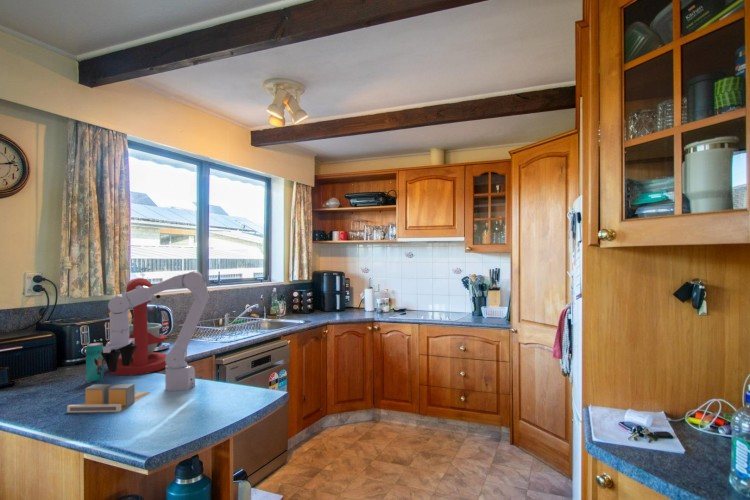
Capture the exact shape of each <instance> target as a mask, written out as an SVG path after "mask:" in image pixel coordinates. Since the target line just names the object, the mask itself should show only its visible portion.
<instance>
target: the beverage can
mask: <svg viewBox="0 0 750 500" xmlns="http://www.w3.org/2000/svg"><path fill="white" fill-rule="evenodd" d="M103 347H104V345H103V342H92V343H88V344H86V348H85V380H86V382H87V383H88V384H89V383H92V382H95V381H103V379H104V373H105V371H104V370H105V369H104V367H105V366H104V365H105V363H104V361H105V359H104V358H103V356H102V355H101V352H103Z"/></svg>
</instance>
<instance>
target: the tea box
mask: <svg viewBox="0 0 750 500" xmlns="http://www.w3.org/2000/svg"><path fill="white" fill-rule="evenodd" d="M112 386H113V384H112V383H111V384H109V383H107V384H106V383H105V384H100V383H99V384H91V385H90V386H86V388H84V404H85V405H87V404H108V388H110V387H112Z"/></svg>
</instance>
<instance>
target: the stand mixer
mask: <svg viewBox="0 0 750 500" xmlns="http://www.w3.org/2000/svg"><path fill="white" fill-rule="evenodd" d="M137 286H147V287H151V286H154V284H152V283H151V282H150V281H149V280H148V279H146V278H143V277H137V278H134V279H131V280H130V281H129V282H127V284H126V289H125V290H126V291H125V292H126V293H127V292H129V291H132V290H134V289H136V287H137ZM154 298H156V299H160V298H161V295H160V294H154V295H153V296H152V298H151V300H153V299H154ZM151 300H149V301H147V302H144V303H142V304H140V305H137V306H135V307H132V309H133V318H131V320H129V338H135V343H134V344H132V345H137V347H136V349H135V351H134V353H133V355H132V358H131V362H130V365H129V366H123V365H122V356H121V355H120V356H119V358H118V363H117V370H116V372H109V370H108V369H107V372H108V373H109V374H111V375H115V376H137V375H145V374H150V373H154V372H158V371H160V370H162V369H165V368H166V367H165V366H166V365H167V364H166V362H165V357H166V355H167V354H166V353H162V352H154V351H155V349H157V346H158V344H159V343H163V342H165V341H166V340H167V339H166V338H167V337H166V335H165V334H164V333H162V332H160V331H161V328H162V327H163V325H162V324H161V323H156V322H149V320H148V304H149V303H151V302H152V301H151Z"/></svg>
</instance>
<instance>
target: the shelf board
mask: <svg viewBox="0 0 750 500" xmlns="http://www.w3.org/2000/svg"><path fill="white" fill-rule="evenodd" d="M151 393H152V392H150V391H147V392H146V391H145V392H142V391H138V392H136V391H135V402H134V403H133V404H135V403H136V402H138V401H139V400H141V399H143V398H144V397H146V396H148V395H149V394H151ZM82 405H85V403H82ZM129 406H131V405H129ZM129 406H128V407H129ZM126 408H127V407H121V411H123V410H125V409H126ZM66 412H67V411H66ZM68 413H72V414H73V413H77V412H67V414H68Z"/></svg>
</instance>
